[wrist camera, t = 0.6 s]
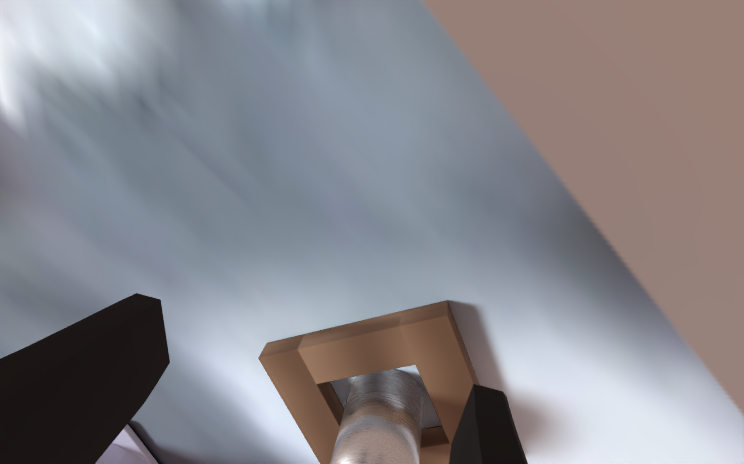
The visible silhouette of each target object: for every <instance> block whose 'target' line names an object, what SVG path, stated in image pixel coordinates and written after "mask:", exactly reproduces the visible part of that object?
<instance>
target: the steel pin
mask: <svg viewBox="0 0 744 464" xmlns="http://www.w3.org/2000/svg"><path fill="white" fill-rule="evenodd" d="M423 402H424V397H423V392H422V390H421V388H420V386H419V385H418V383H417V382H416V381H415V380H414V379H413V378H412V377H411V376H409V375H408V374H406V373H404V372H402V371H399V370H397V369H390V370H385V371H380V372H375V373H370V374H365V375H360V376H357V377H356V378H355V379H354V381H353V382H352V385H351V388H350V392H349V396H348V399H347V403H346V407H345V410H344V414H343V418H342V421H341V425H340V429H339V432H338V436H337V440H336V443H335V447H334V451H333V454H332V458H331V462H330V464H419V459H420V445H421V431H422V417H423Z"/></svg>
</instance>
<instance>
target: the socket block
mask: <svg viewBox="0 0 744 464" xmlns="http://www.w3.org/2000/svg"><path fill="white" fill-rule="evenodd" d="M258 359H259V360H260V362H261V364H262V365H263V367H264V369H265V370H266V372H267V374H268V376H269V377H270V379H271V381H272V382H273V384H274V386H275V387H276V389H277V391H278V393H279V394H280V396H281V398H282V399H283V401H284V403H285V404H286V406H287V408H288V410H289V411H290V413H291V415H292V416H293V418H294V420H295V421H296V423H297V425H298V427H299V428H300V430H301V432H302V433H303V435H304V437H305V438H306V440H307V442H308V444H309V445H310V447H311V449H312V450H313V452H314V454H315V455H316V457H317V459H318V461H319V462H320V464H330V462H331V458H332V454H333V451H334V447H335V443H336V440H337V436H338V432H339V429H340V425H341V421H342V418H343V414H344V408H343V406H342V404H341V402H340V400H339V399H338V397H337V395H336V393H335V391H334V389H333V387H332V385H331V383H330V382H329V381H334V380H339V379H344V378H349V377H355V376H360V375H365V374H370V373H375V372H380V371H385V370H390V369H395V368H400V367H405V366H410V365H415V364H416V366H417V369H418V371H419V373H420V376H421V378H422V380H423V383H424V385H425V387H426V389H427V392H428V394H429V396H430V399H431V401H432V403H433V406H434V408H435V410H436V413H437V415H438V417H439V419H440V422H441V424H442V426H441V427H434V428H427V429H422V431H421V445H420V459H419V464H449V459H450V451H451V443H452V441H453V438H454V435H455V432H456V430H457V427H458V424H459V422H460V419H461V416H462V414H463V411H464V408H465V405H466V403H467V400H468V397H469V395H470V392H471V389H472V387H473V384H476V385H479V383H478V380H477V378H476V375H475V372H474V370H473V367H472V364H471V362H470V359H469V356H468V354H467V351H466V348H465V346H464V343H463V340H462V338H461V335H460V332H459V330H458V327H457V325H456V322H455V319H454V317H453V314H452V311H451V309H450V306H449V303H448V301H443V302H439V303H435V304H430V305H426V306H422V307H418V308H413V309H409V310H405V311H401V312H397V313H392V314H388V315H384V316H380V317H375V318H371V319H367V320H363V321H358V322H354V323H350V324H346V325H342V326H337V327H333V328H329V329H325V330H320V331H316V332H312V333H308V334H303V335H299V336H295V337H291V338H287V339H282V340H278V341H274V342H270V343H267V344H266V346H265V347H264V349H263V351H262V353H261V354H260V356H259V358H258Z"/></svg>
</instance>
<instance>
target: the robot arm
mask: <svg viewBox="0 0 744 464" xmlns="http://www.w3.org/2000/svg"><path fill="white" fill-rule="evenodd" d="M169 363H170V360H169V354H168V347H167V340H166V333H165V327H164V320H163V313H162V306H161V300H160V299H156V298H152V297H149V296H145V295H141V294H137V293H136V294H134V295H132V296H130V297H127V298H125V299H123V300H121V301H119V302H117V303H115V304H113V305H111V306H109V307H107V308H105V309H103V310H101V311H99V312H97V313H95V314H93V315H91V316H89V317H87V318H85V319H83V320H81V321H79V322H77V323H75V324H73V325H70V326H68V327H66V328H64V329H62V330H60V331H58V332H56V333H54V334H52V335H50V336H48V337H46V338H44V339H42V340H40V341H38V342H36V343H34V344H32V345H30V346H27V347H25V348H23V349H21V350H19V351H17V352H14V353H12V354H10V355H8V356H6V357H3V358H1V359H0V464H158V463H157V461H156V460H155V459H154V457H153V456H152V455H151V453H150V452H149V451H148V450H147V448H146V447H145V446H144V444H143V443H142V442H141V440H140V439H139V438H138V437H137V435H136V434H135V433H134V431H133V430H132V429H131V427H130V426H129V425H128V423H129V421H130V420H131V419H132V418H133V416H134V415H135V414H136V413H137V411H138V410H139V409H140V408H141V406H142V405H143V404H144V402H145V401H146V399H147V398H148V396H149V395H150V393H151V392H152V390H153V389H154V387H155V386H156V384H157V383H158V381H159V379H160V378H161V376H162V374H163V373H164V371H165V369H166V368H167V366H168V364H169ZM449 464H528V463H527V460H526V457H525V454H524V451H523V449H522V446H521V443H520V440H519V437H518V434H517V431H516V428H515V425H514V421H513V418H512V415H511V411H510V408H509V405H508V401H507V397H506V396H505V394H504V393H503V392H502V391H498V390H495V389H491V388H487V387H483V386H480V385H476V384H473V387H472V389H471V392H470V395H469V397H468V400H467V403H466V405H465V408H464V411H463V414H462V416H461V419H460V422H459V424H458V427H457V430H456V432H455V435H454V438H453V441H452V443H451V451H450V459H449Z"/></svg>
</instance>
